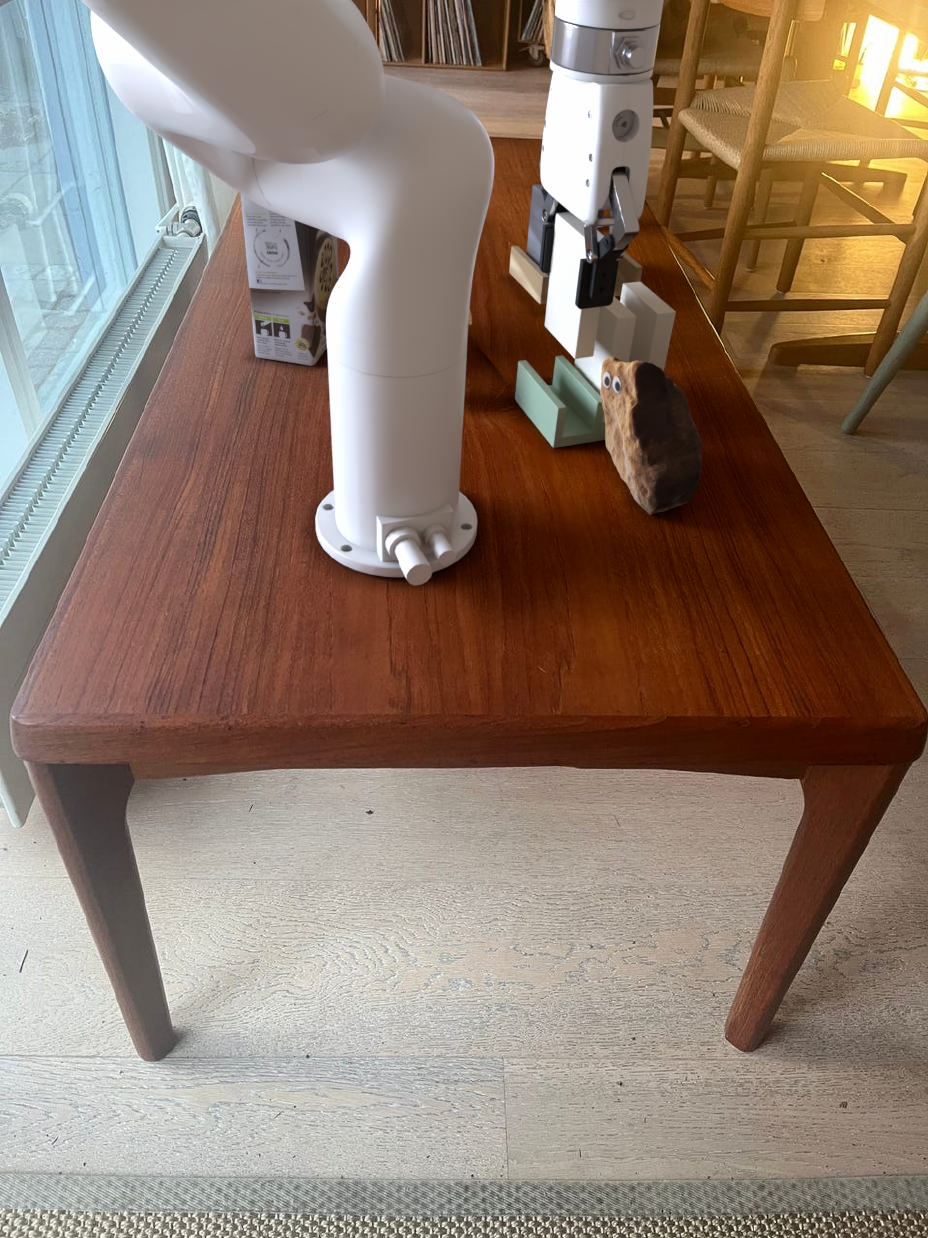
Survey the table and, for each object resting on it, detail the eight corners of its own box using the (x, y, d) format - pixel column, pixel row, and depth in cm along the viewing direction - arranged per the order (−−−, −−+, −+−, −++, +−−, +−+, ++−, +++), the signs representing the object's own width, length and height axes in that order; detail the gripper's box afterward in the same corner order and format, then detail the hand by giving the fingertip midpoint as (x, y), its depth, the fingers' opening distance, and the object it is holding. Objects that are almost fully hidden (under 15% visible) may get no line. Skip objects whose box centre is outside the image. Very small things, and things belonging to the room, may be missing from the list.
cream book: (562, 323, 88) (575, 210, 81) (593, 356, 84) (610, 240, 77) (544, 325, 88) (555, 212, 81) (574, 359, 83) (589, 242, 76)
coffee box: (316, 367, 96) (306, 197, 85) (253, 358, 96) (236, 189, 86) (343, 327, 102) (337, 165, 92) (284, 319, 103) (272, 158, 92)
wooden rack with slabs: (601, 270, 117) (615, 174, 110) (637, 301, 111) (654, 201, 104) (508, 280, 114) (516, 181, 106) (539, 312, 108) (549, 210, 100)
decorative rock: (582, 446, 87) (599, 333, 80) (643, 439, 89) (665, 327, 82) (639, 524, 79) (664, 406, 72) (705, 514, 80) (736, 397, 73)
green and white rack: (628, 383, 96) (647, 274, 89) (673, 428, 90) (697, 316, 83) (514, 399, 93) (525, 287, 86) (553, 448, 87) (568, 332, 79)
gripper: (711, 76, 65) (663, 327, 77) (597, 18, 77) (571, 244, 89) (611, 82, 63) (578, 339, 75) (510, 22, 75) (495, 252, 87)
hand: (574, 285), depth 82 cm, fingers closed on cream book, 6 cm apart
